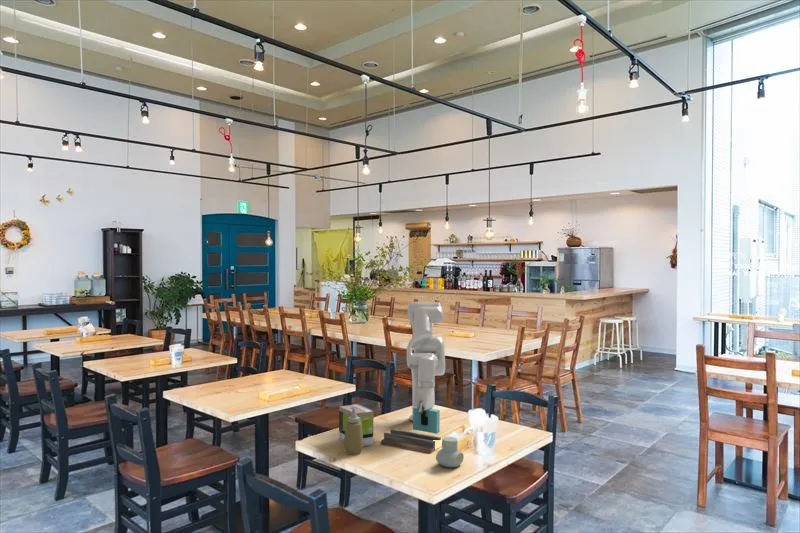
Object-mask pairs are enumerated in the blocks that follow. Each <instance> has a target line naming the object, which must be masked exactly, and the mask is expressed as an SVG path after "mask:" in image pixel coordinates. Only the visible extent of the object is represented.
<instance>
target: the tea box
mask: <svg viewBox="0 0 800 533" xmlns="http://www.w3.org/2000/svg"><path fill="white" fill-rule="evenodd" d="M338 408H339V410H338V413H339V414H338V416H339V417H338V419H339V420H338V439H339V440H340V441H342V442H344V438H345V428H346V424H347V423H348V418H349V417H351V413H352V409H353V408H355V409H356V414H357V417H359V418H360V421H359V422H360V423H361V424H362V433H363V447H366V446H372V445H374V420H375V419H374V415H375V414H374V412H375V411H374V410H372V409H370V408H368V407H366V406H363V405H361V404H359V403H357V404H349V405H348V404H347V405H341V406H339V407H338Z"/></svg>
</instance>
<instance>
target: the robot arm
mask: <svg viewBox="0 0 800 533" xmlns="http://www.w3.org/2000/svg"><path fill="white" fill-rule="evenodd" d="M407 316H408V317H407V318H408V319H409V322H410V325H411V328H412V337H411V339H410V340H409V342H407V343H408V344H407V346H406V365H407V368H408V369H410V370H411V378H412V379H411V380H412V382H411V383H412V388H411V390H412V391H411V392H412V394H411V395H412V400H411V401H412V403H411V405H412V408H411V409H412V414H410V415H409V418H408V420H410V421H411V422H413V408H414V407H416V406H417V409H419V413H420V414H421V425H426V426H427V425H428V417H427V410H428V409H434V408H433V407H434V406H435V403H436V401H435V399H436V394H435V386H436V385H435V384H436V383H435V382H436V379H435V377H436V376H437V377H438V376H439V377H440V376H444V374H445V373H446V353H445V342H444V339H443V338H442V337H441V336H438V335H437V336H436V335H433V324H441V323H443V320H444V311H443V307H442V305H441V303H440V302H438V301H413V302H410V303H408V305H407ZM423 408H424V409H423ZM423 411H425V412H423Z"/></svg>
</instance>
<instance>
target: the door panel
mask: <svg viewBox="0 0 800 533" xmlns="http://www.w3.org/2000/svg"><path fill="white" fill-rule="evenodd" d="M423 409H424V408H423ZM423 412H425V411H423ZM440 412H441V411H440V409H436V408H433V409H428V410H427V417H428V425H427V426H426V425H421V414H420V413H419V409H417V406H416V407H414V408H413V421H412V430H414V431H420V432H424V433H429V434H430V433H431V434H436V435H437V434H439V433H440V423H441V422H440V419H441V418H440V415H441V414H440Z"/></svg>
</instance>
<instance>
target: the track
mask: <svg viewBox="0 0 800 533" xmlns="http://www.w3.org/2000/svg"><path fill="white" fill-rule="evenodd" d="M433 440H441V437H440V436H435V435H429V434H423V433H417V432H411V431H407V430H406V431H405V430H400V429H395V428H391V429H390V432H386V431H385V432H384V433H383V439H380V444H381V445H384V446H385V445H386V446H390V447H395V448H401V449H406V450H410V451H411V450H412V451H417V452H422V453H427V454H433V453H434V452H435V451H436V450H435V441H433ZM441 441H442V440H441Z"/></svg>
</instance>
